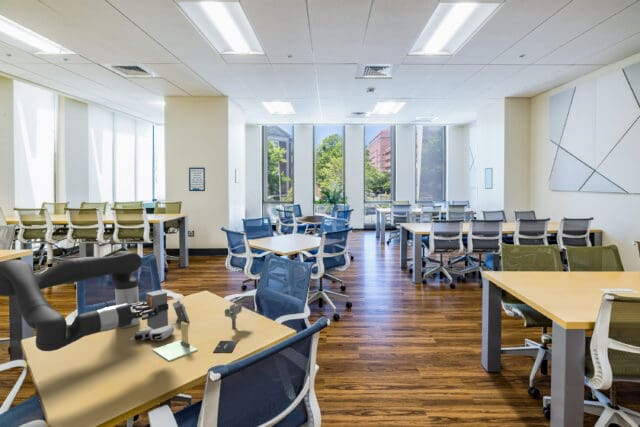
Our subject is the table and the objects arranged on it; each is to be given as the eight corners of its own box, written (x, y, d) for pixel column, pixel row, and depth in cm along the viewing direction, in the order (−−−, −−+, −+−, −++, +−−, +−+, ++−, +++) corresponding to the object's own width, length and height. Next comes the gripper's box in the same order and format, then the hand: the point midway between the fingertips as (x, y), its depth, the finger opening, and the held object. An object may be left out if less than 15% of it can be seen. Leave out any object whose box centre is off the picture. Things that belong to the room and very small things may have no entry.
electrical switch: (189, 322, 160) (186, 302, 159) (177, 325, 158) (174, 305, 157) (186, 316, 168) (183, 297, 167) (174, 319, 166) (171, 300, 165)
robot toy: (128, 347, 137) (167, 343, 138) (127, 336, 137) (165, 332, 137) (143, 334, 149) (178, 331, 150) (141, 324, 149) (177, 320, 149)
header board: (152, 350, 132) (151, 326, 131) (180, 341, 140) (179, 317, 139) (168, 361, 123) (167, 335, 123) (197, 350, 132) (196, 326, 131)
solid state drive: (212, 354, 130) (212, 352, 130) (220, 342, 140) (220, 340, 140) (231, 353, 130) (231, 352, 130) (237, 342, 140) (237, 340, 140)
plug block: (146, 325, 126) (145, 293, 125) (161, 321, 130) (160, 289, 129) (153, 329, 123) (152, 296, 122) (168, 325, 126) (166, 292, 126)
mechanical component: (223, 332, 148) (223, 309, 148) (238, 323, 158) (237, 301, 157) (229, 333, 147) (229, 310, 147) (243, 324, 157) (243, 302, 156)
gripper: (120, 311, 110) (173, 298, 123) (104, 301, 120) (155, 291, 132) (121, 334, 111) (173, 319, 123) (105, 323, 120) (155, 310, 133)
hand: (163, 304), depth 128 cm, fingers closed on plug block, 5 cm apart
